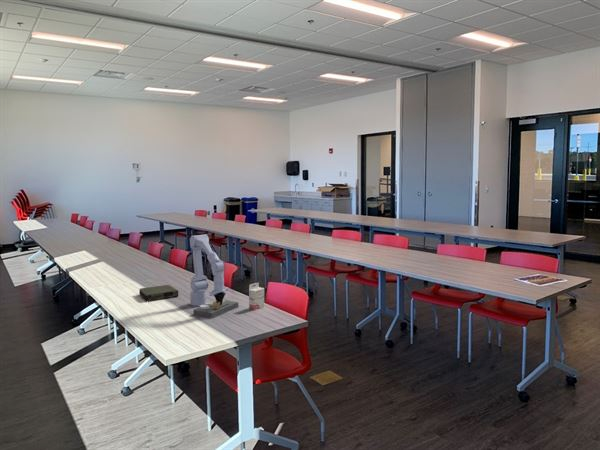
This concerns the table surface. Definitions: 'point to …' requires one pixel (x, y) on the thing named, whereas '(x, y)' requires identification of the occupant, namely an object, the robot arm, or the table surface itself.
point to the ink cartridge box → (256, 296)
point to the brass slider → (216, 305)
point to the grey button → (204, 307)
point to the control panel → (216, 312)
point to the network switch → (158, 292)
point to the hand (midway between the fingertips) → (219, 305)
